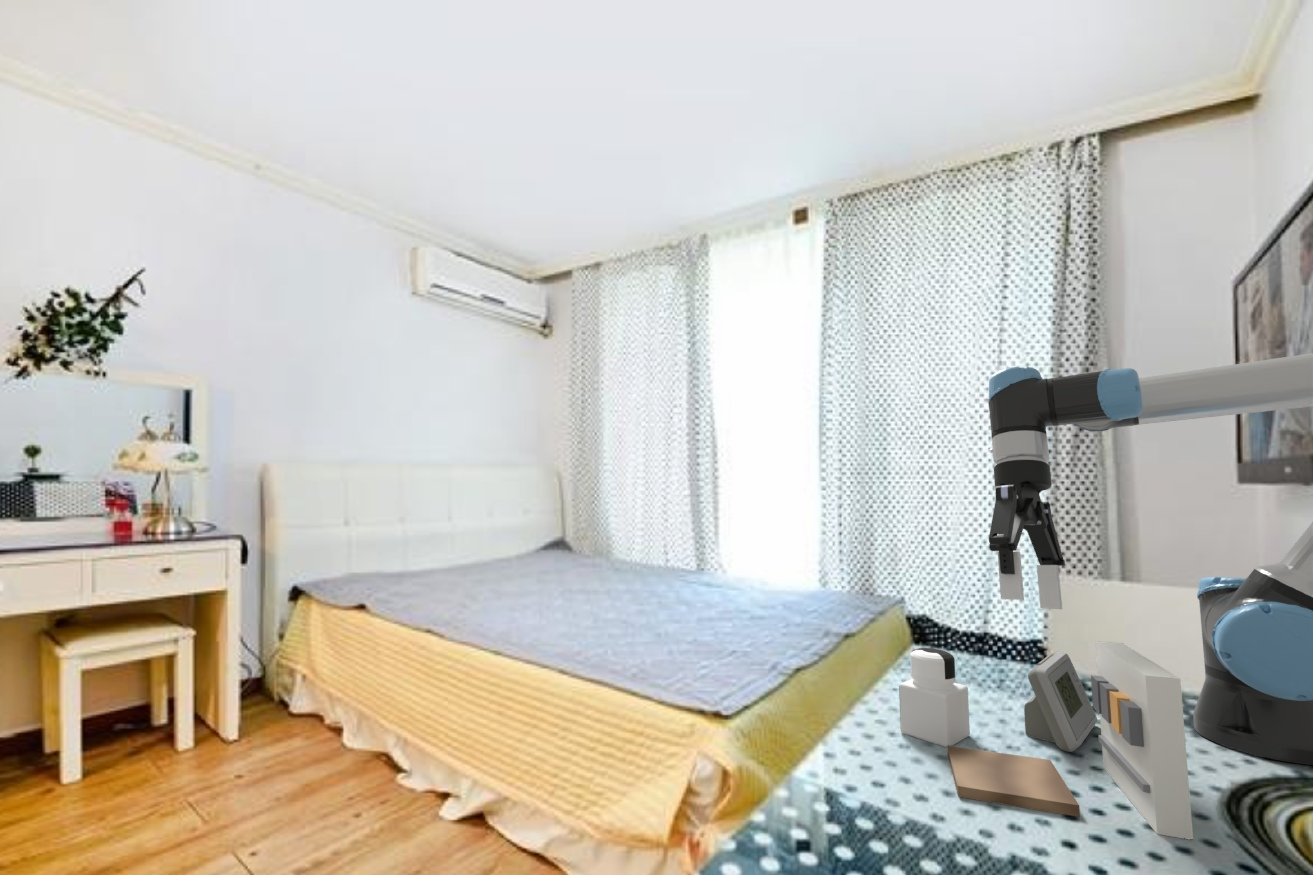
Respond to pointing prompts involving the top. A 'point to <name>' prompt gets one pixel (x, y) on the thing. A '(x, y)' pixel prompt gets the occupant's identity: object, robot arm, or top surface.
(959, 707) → the medicine bottle
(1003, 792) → the walnut board
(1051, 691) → the digital clock
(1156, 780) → the breaker panel
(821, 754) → the top surface
